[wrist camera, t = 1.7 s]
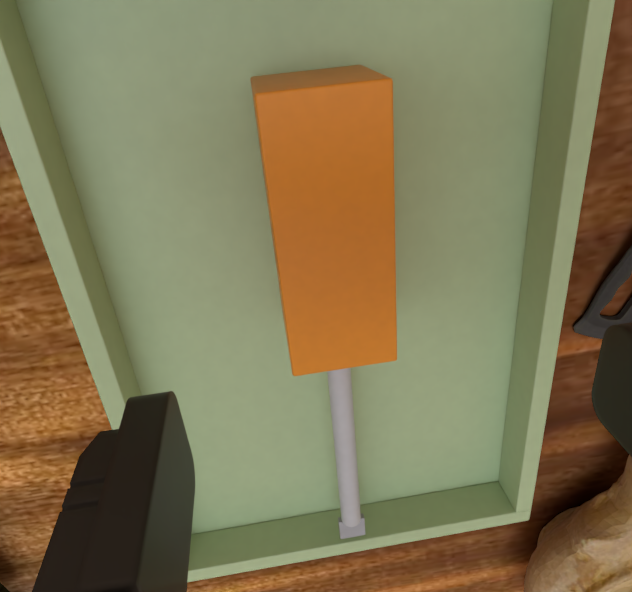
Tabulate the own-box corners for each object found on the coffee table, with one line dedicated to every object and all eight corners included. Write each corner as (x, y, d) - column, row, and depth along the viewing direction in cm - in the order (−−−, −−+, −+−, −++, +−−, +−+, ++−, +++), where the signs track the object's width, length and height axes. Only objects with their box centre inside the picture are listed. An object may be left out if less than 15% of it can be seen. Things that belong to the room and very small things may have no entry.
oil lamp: (690, 383, 27) (779, 456, 22) (668, 551, 34) (732, 632, 29) (488, 442, 27) (537, 527, 22) (508, 598, 34) (548, 686, 29)
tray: (-29, -66, 14) (-77, -80, 12) (581, -120, 16) (638, -140, 14) (174, 537, 27) (169, 586, 25) (506, 479, 28) (529, 520, 26)
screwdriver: (309, 508, 26) (320, 579, 23) (250, 76, 17) (253, 93, 13) (380, 495, 27) (400, 564, 23) (362, 63, 17) (393, 77, 14)
